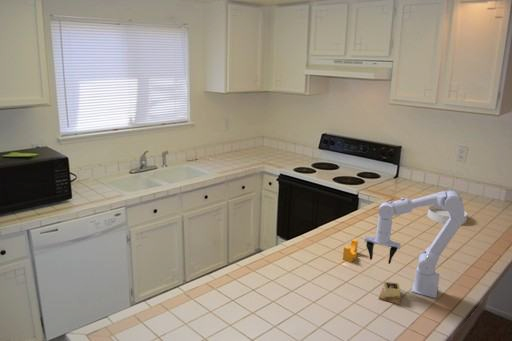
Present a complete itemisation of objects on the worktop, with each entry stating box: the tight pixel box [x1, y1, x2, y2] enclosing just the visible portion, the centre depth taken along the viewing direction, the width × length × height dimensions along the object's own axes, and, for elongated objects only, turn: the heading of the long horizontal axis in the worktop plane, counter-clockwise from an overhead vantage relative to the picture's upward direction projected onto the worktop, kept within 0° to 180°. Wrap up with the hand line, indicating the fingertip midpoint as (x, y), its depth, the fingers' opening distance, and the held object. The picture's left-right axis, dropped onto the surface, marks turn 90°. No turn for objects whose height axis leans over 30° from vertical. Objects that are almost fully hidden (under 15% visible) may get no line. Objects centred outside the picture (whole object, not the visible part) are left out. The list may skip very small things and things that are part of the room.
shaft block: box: [378, 286, 403, 305], centre depth 174 cm, size 8×8×4 cm
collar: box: [382, 281, 401, 299], centre depth 174 cm, size 6×6×4 cm
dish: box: [426, 205, 468, 225], centre depth 265 cm, size 22×22×5 cm
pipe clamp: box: [342, 238, 359, 263], centre depth 209 cm, size 12×4×6 cm, turn 147°
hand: (380, 260), depth 184 cm, fingers open, 7 cm apart
